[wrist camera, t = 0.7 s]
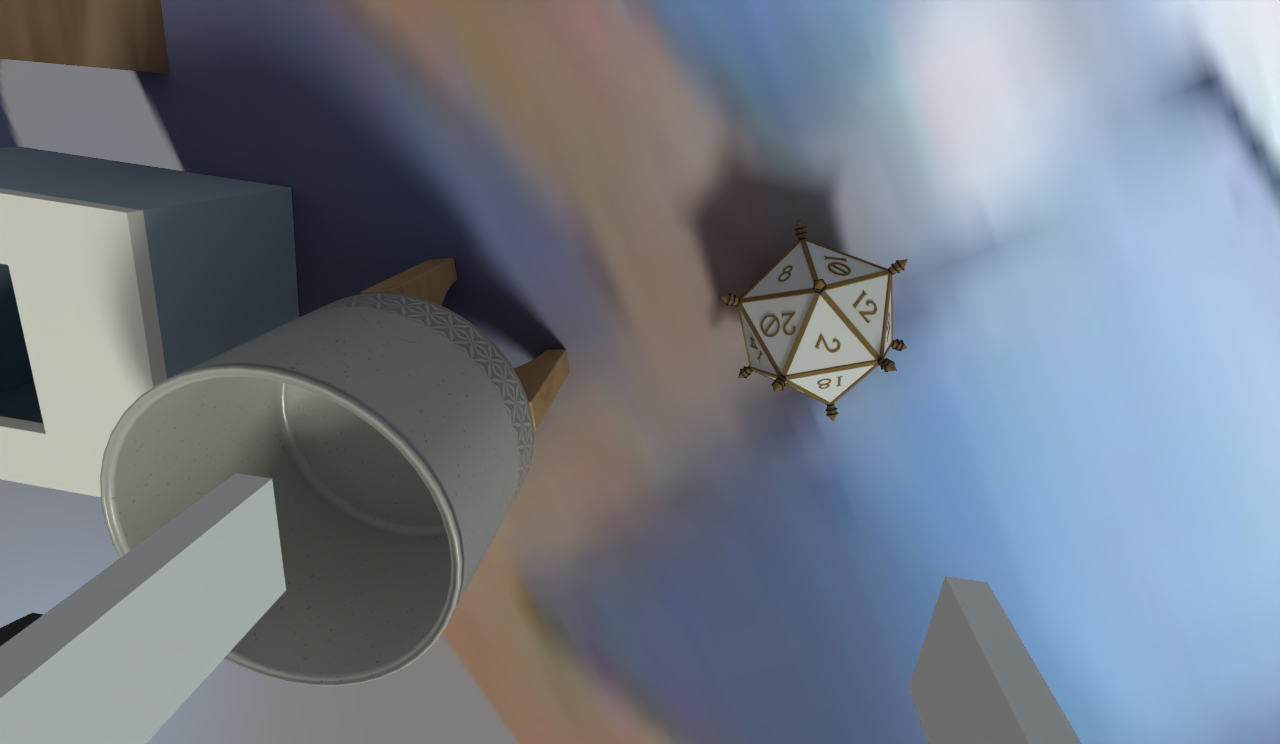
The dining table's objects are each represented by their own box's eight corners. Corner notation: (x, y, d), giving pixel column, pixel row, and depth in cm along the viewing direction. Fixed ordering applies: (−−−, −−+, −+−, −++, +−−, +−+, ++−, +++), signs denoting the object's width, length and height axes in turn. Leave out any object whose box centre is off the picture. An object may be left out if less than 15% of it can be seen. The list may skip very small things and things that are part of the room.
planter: (553, 250, 36) (417, 356, 20) (581, 459, 41) (489, 690, 24) (333, 266, 38) (39, 376, 21) (383, 465, 42) (172, 684, 26)
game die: (782, 316, 40) (704, 431, 35) (763, 188, 35) (668, 301, 29) (939, 340, 35) (877, 480, 30) (946, 196, 30) (872, 334, 24)
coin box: (20, 146, 37) (-241, 155, 27) (291, 187, 37) (126, 212, 26) (66, 374, 42) (-139, 454, 32) (305, 414, 42) (171, 509, 31)
